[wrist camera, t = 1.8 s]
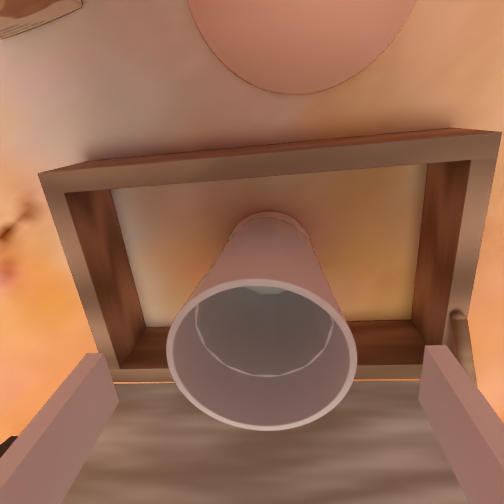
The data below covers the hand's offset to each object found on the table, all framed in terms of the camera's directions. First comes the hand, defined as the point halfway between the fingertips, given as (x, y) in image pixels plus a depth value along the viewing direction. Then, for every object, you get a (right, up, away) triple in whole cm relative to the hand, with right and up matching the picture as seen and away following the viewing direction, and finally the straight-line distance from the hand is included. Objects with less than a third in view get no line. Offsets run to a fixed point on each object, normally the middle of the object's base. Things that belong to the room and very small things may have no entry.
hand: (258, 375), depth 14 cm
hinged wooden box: (+1, +3, +12) cm, 12 cm away
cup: (+1, +5, +11) cm, 12 cm away
